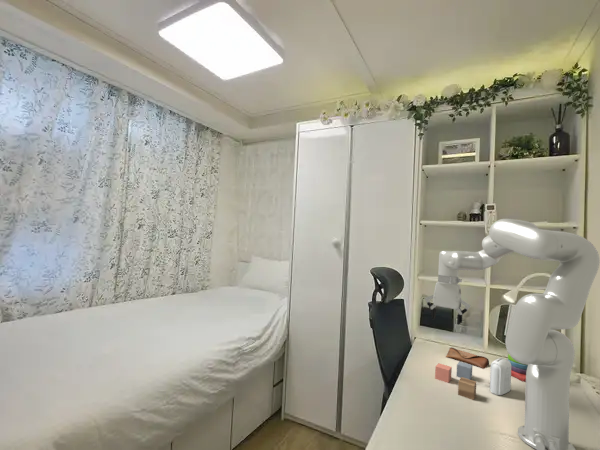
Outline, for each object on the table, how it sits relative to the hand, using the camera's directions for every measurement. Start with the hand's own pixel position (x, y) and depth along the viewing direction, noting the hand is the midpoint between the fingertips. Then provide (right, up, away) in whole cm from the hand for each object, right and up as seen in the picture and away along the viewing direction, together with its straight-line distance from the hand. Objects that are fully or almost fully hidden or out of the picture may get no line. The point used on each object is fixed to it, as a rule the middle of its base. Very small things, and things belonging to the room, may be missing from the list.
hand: (445, 321), depth 122 cm
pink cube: (-2, -23, -2) cm, 23 cm away
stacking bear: (+37, -27, +8) cm, 46 cm away
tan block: (+1, -23, -14) cm, 27 cm away
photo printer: (+16, -24, -9) cm, 31 cm away
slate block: (+9, -24, +2) cm, 26 cm away
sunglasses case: (+21, -27, +21) cm, 40 cm away
